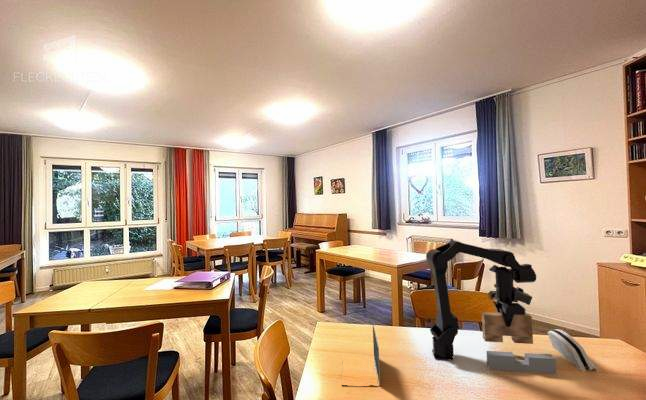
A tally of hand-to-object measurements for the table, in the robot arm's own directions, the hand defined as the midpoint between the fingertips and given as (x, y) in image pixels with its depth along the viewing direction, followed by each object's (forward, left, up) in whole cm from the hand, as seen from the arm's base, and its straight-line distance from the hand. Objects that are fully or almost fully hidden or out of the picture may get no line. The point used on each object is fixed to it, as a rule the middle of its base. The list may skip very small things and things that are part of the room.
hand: (506, 324), depth 111 cm
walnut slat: (0, 0, -6) cm, 6 cm away
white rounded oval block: (+20, -1, -11) cm, 23 cm away
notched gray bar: (0, -11, -11) cm, 15 cm away
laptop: (-54, -19, -11) cm, 58 cm away
